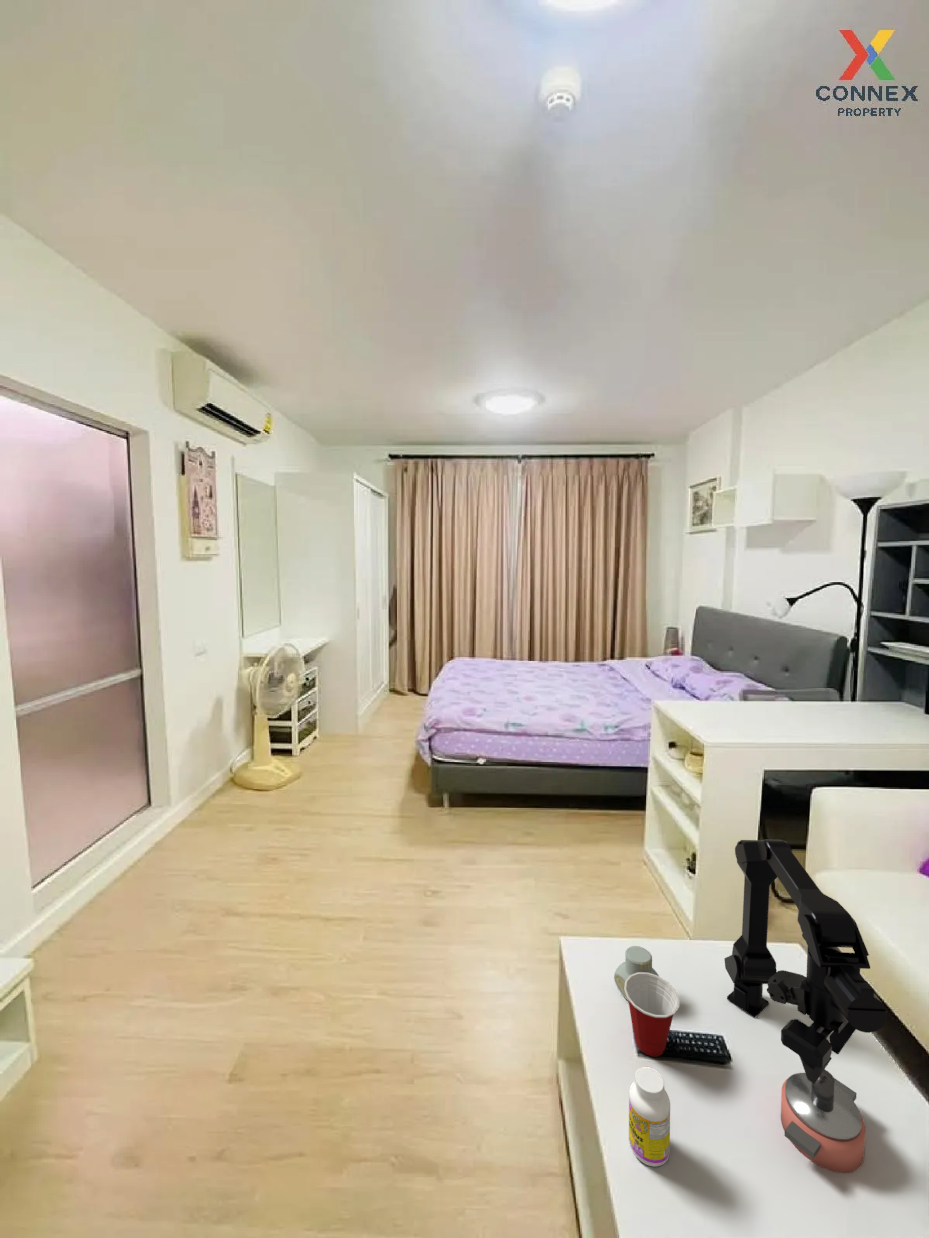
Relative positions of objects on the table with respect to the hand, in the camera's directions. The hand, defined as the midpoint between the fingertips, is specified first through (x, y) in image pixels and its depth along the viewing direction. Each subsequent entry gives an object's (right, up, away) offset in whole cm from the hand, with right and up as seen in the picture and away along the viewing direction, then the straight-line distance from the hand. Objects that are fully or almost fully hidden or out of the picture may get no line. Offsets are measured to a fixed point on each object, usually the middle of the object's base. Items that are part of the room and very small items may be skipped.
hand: (823, 1065), depth 91 cm
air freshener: (-21, -11, +32) cm, 40 cm away
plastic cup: (-23, -12, +19) cm, 32 cm away
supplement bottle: (-30, -14, 0) cm, 33 cm away
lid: (0, -8, +1) cm, 8 cm away
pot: (0, -13, +1) cm, 13 cm away
